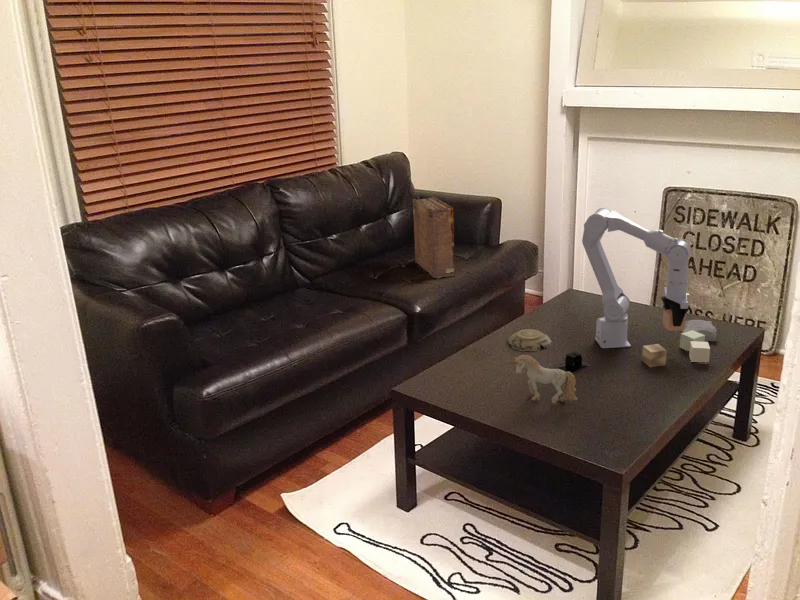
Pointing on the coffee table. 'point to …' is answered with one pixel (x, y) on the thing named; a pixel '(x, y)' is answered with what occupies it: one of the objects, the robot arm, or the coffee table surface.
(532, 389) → the unicorn figurine
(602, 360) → the coffee table surface
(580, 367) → the black boxy device
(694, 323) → the stone block
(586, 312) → the coffee table surface
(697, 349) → the cream cube
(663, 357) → the maple cube
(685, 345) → the sage cube
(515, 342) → the decorative bowl
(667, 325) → the terracotta cube
